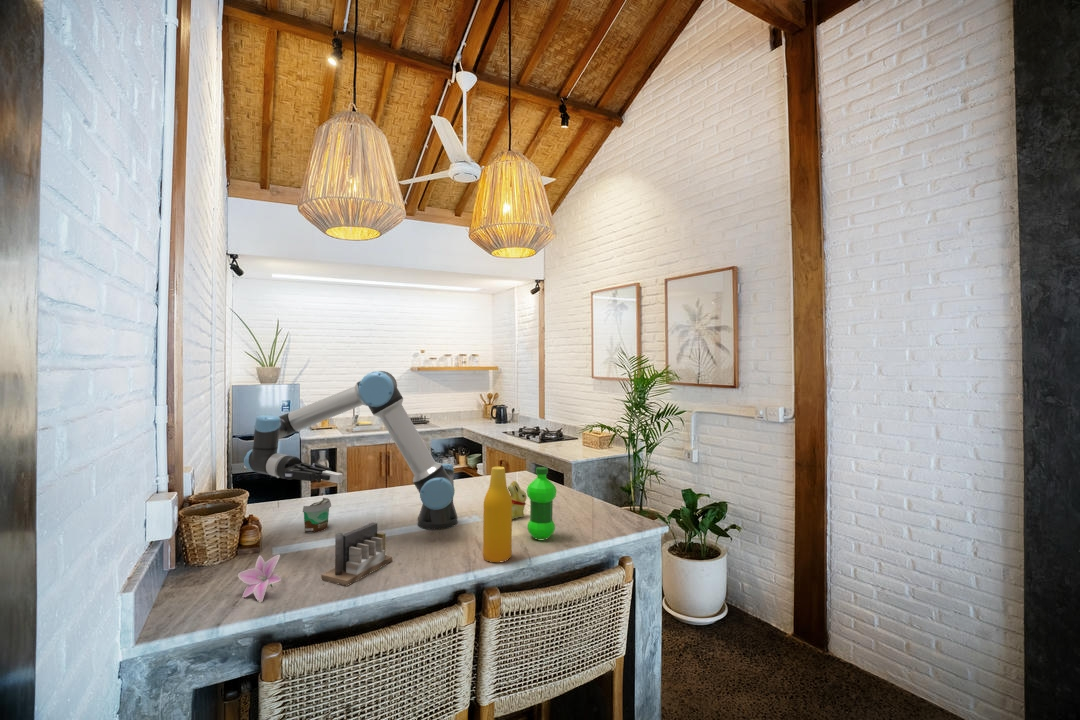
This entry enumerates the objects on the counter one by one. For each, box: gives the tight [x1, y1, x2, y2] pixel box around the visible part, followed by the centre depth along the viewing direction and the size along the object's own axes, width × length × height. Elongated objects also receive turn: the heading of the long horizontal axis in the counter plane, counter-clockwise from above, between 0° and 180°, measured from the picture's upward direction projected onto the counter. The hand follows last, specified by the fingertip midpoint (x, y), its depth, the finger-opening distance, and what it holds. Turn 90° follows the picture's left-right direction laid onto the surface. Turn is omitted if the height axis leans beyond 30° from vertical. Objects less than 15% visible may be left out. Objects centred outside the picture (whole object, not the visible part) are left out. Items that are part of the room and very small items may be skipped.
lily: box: [237, 554, 282, 602], centre depth 136 cm, size 12×12×10 cm
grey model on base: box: [321, 532, 393, 586], centre depth 151 cm, size 19×10×13 cm, turn 157°
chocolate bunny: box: [507, 480, 528, 520], centre depth 203 cm, size 7×11×15 cm, turn 125°
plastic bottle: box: [526, 466, 557, 539], centre depth 181 cm, size 10×10×25 cm
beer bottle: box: [482, 466, 513, 563], centre depth 162 cm, size 9×9×29 cm
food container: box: [302, 497, 332, 533], centre depth 187 cm, size 12×6×10 cm, turn 168°
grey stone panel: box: [342, 522, 378, 571], centre depth 153 cm, size 13×2×10 cm, turn 155°
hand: (340, 478), depth 159 cm, fingers closed
